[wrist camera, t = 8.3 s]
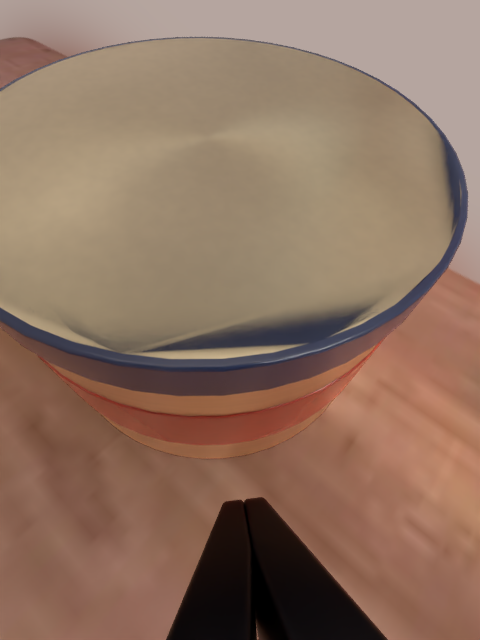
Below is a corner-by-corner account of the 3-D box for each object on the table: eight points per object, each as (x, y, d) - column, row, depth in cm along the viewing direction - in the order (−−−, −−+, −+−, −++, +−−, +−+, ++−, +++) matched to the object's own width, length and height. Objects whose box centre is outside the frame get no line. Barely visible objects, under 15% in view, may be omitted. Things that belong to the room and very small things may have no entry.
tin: (418, 346, 17) (580, 187, 9) (155, 548, 12) (31, 572, 4) (247, 187, 23) (258, 12, 15) (27, 281, 18) (-120, 94, 10)
